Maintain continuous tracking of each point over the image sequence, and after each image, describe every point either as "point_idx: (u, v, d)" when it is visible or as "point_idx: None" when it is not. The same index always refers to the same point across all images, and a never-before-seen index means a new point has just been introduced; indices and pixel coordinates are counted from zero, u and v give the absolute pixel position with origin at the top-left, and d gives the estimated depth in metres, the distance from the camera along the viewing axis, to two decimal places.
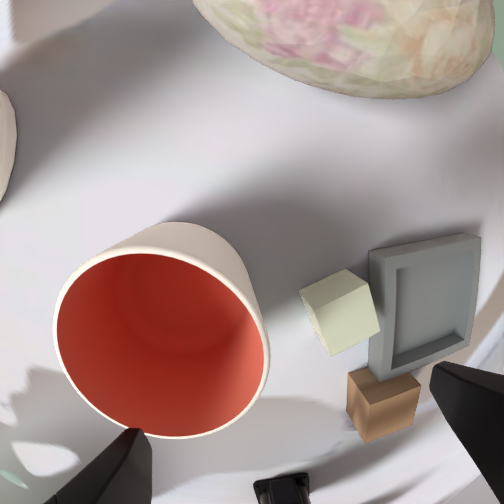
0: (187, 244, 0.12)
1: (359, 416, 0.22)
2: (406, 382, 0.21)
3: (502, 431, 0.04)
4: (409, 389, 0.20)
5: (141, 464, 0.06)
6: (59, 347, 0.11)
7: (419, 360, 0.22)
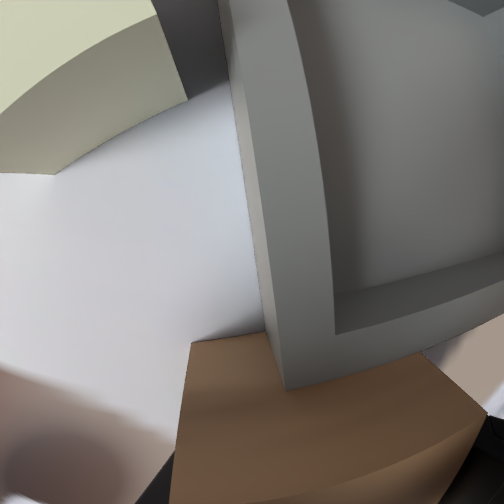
0: None
1: None
2: (415, 401, 0.04)
3: None
4: (432, 444, 0.03)
5: None
6: None
7: (460, 302, 0.05)
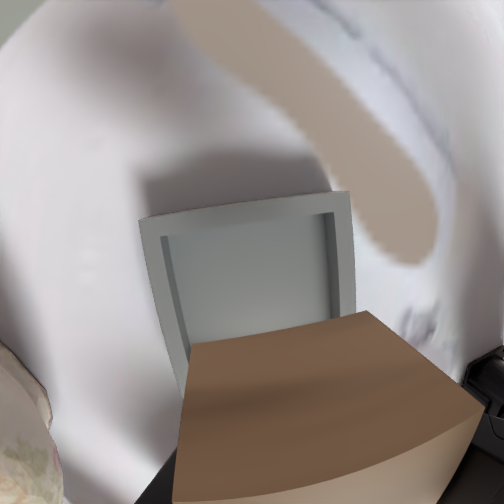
0: None
1: None
2: (414, 397, 0.04)
3: None
4: (431, 437, 0.03)
5: None
6: None
7: (342, 315, 0.16)
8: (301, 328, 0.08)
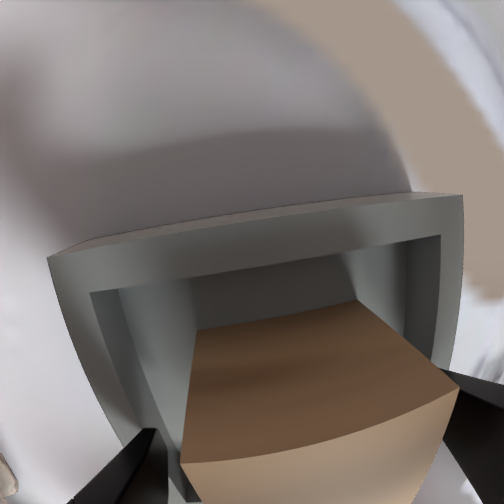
0: None
1: None
2: (394, 375, 0.05)
3: (490, 440, 0.04)
4: (407, 410, 0.04)
5: (158, 464, 0.06)
6: None
7: None
8: (297, 315, 0.09)
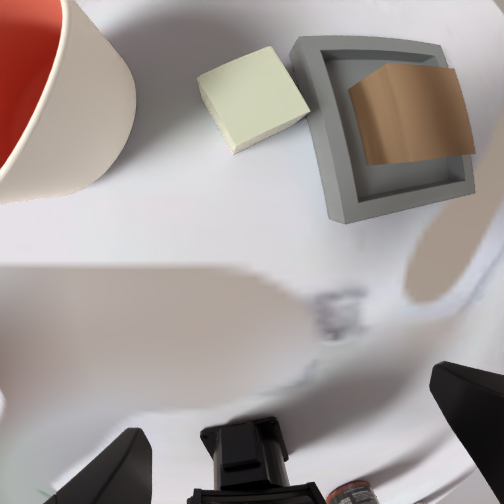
0: None
1: None
2: None
3: (502, 431, 0.04)
4: (471, 132, 0.12)
5: (141, 464, 0.06)
6: None
7: (403, 195, 0.16)
8: None
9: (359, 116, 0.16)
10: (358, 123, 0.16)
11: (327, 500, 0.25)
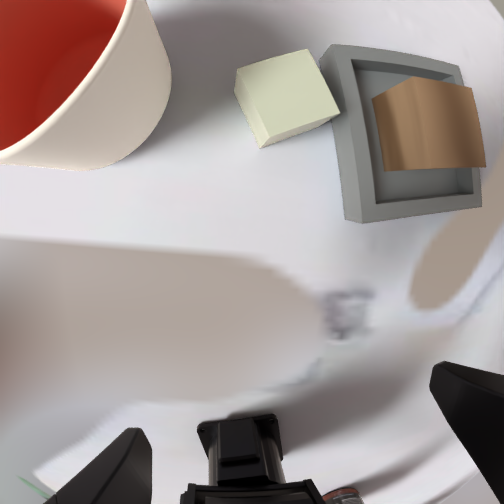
0: None
1: None
2: None
3: (502, 432, 0.04)
4: (483, 147, 0.13)
5: (141, 464, 0.06)
6: None
7: (416, 201, 0.16)
8: None
9: (381, 124, 0.16)
10: (379, 131, 0.17)
11: None
